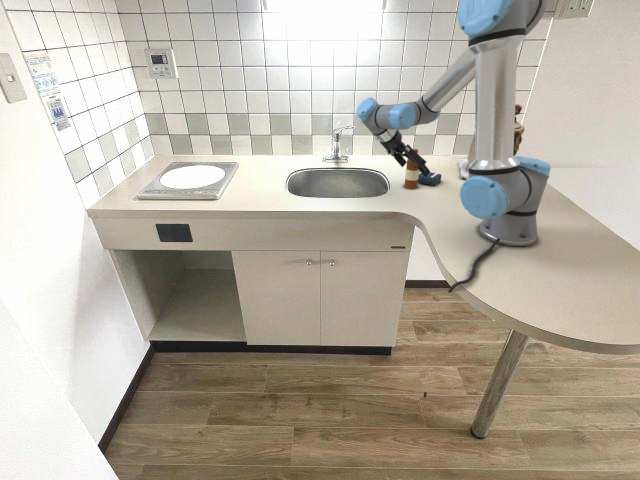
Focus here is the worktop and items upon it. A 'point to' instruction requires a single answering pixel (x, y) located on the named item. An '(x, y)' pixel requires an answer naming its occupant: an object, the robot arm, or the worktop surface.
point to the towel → (429, 178)
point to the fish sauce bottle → (411, 174)
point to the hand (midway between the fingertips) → (415, 169)
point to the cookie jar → (471, 156)
